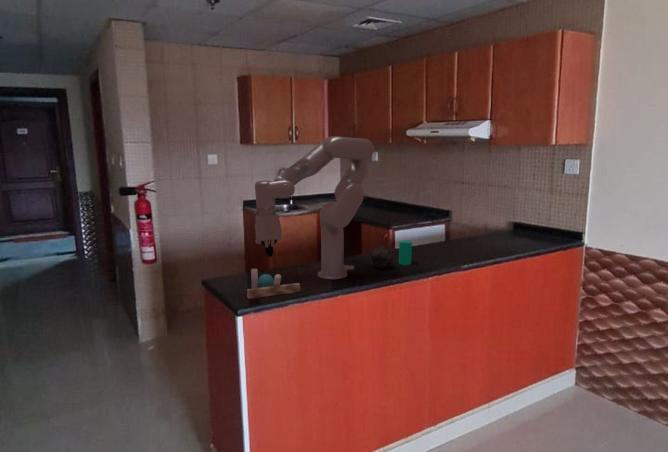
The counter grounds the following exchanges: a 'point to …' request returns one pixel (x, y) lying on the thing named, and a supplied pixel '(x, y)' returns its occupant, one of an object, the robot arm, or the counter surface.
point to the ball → (265, 281)
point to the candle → (405, 252)
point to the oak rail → (273, 290)
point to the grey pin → (254, 278)
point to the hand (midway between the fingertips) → (269, 255)
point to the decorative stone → (382, 257)
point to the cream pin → (277, 280)
